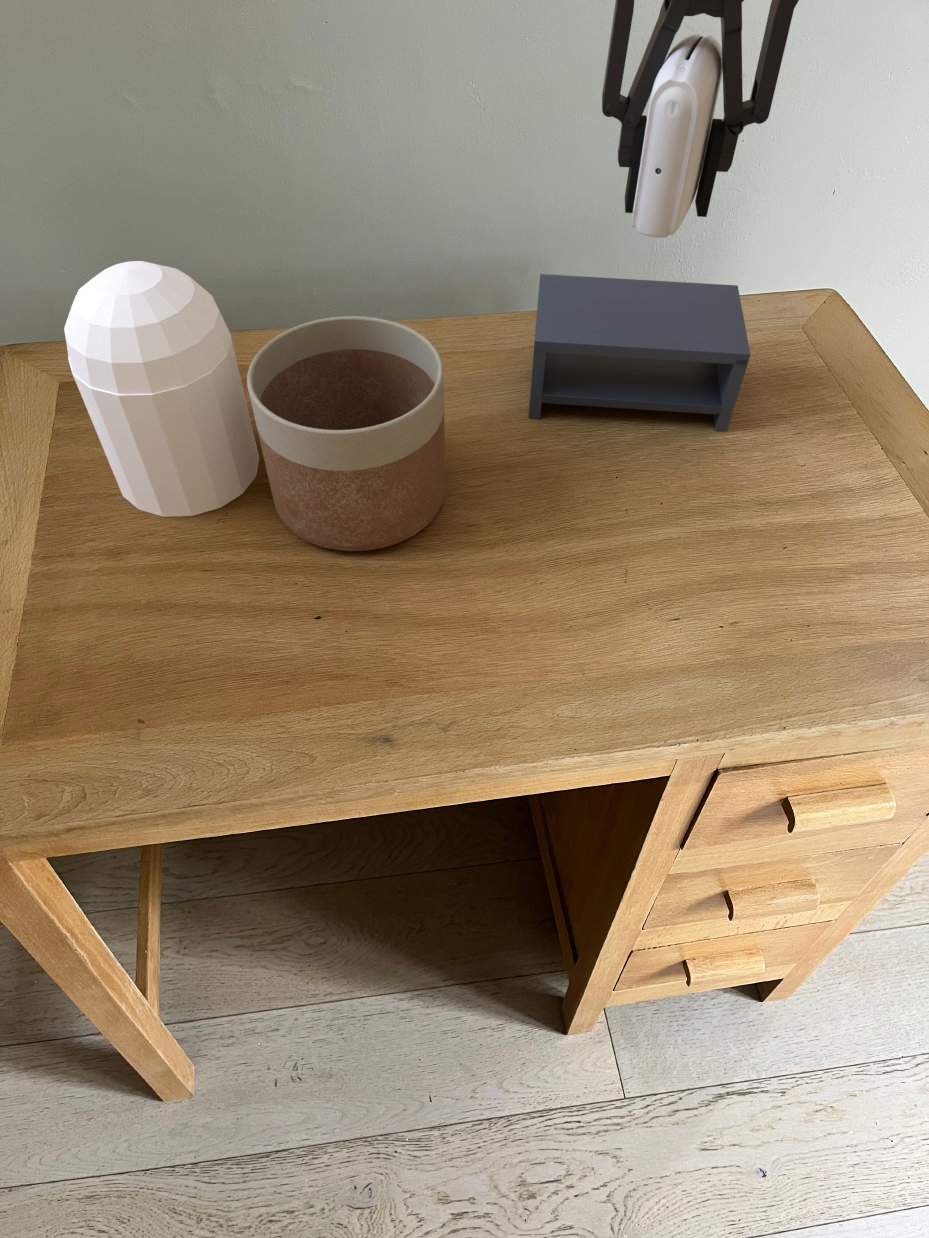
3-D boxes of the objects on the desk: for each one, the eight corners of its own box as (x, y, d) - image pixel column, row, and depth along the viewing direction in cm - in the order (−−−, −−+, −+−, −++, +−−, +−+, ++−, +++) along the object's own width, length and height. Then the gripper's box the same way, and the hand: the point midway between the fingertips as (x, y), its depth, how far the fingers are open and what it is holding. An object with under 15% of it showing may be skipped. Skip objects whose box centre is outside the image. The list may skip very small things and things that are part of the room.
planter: (266, 454, 84) (237, 329, 73) (424, 429, 86) (419, 304, 75) (286, 571, 74) (257, 447, 63) (463, 539, 77) (464, 414, 66)
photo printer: (676, 243, 69) (710, 70, 59) (624, 234, 70) (649, 62, 60) (702, 188, 75) (737, 23, 65) (654, 180, 76) (682, 16, 66)
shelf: (717, 361, 94) (737, 285, 87) (726, 431, 86) (750, 354, 79) (534, 350, 95) (540, 273, 88) (528, 418, 87) (534, 340, 80)
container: (118, 434, 85) (43, 239, 70) (254, 415, 87) (210, 221, 72) (116, 527, 77) (30, 330, 62) (266, 504, 79) (219, 308, 64)
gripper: (870, -170, 56) (769, 192, 74) (589, -177, 57) (557, 181, 75) (895, -144, 51) (781, 235, 69) (588, -153, 52) (554, 223, 70)
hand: (665, 206), depth 72 cm, fingers closed on photo printer, 5 cm apart
